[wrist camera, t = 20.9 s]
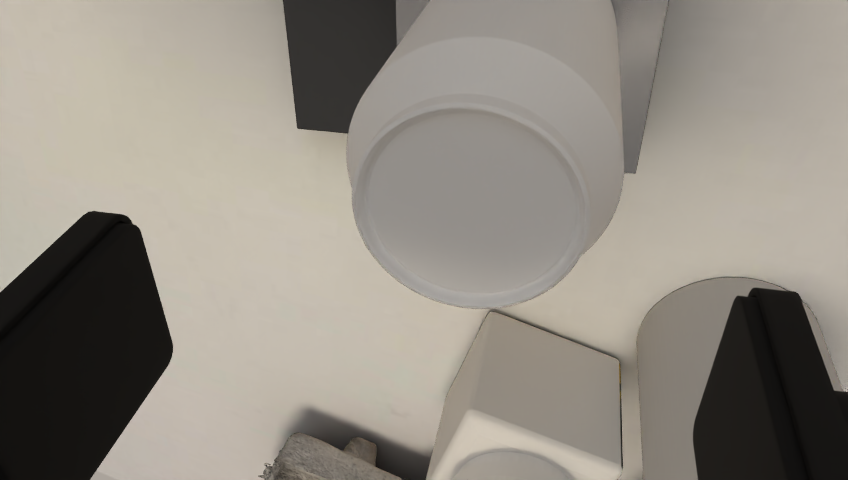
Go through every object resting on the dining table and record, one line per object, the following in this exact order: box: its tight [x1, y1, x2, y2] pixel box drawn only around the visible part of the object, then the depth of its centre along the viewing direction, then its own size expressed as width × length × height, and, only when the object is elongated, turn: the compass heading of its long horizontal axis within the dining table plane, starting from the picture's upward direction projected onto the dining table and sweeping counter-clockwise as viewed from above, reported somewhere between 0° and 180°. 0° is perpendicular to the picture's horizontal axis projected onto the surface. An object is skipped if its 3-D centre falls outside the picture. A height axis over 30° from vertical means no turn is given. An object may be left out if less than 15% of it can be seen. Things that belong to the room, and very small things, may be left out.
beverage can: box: [346, 0, 624, 309], centre depth 19 cm, size 6×6×12 cm
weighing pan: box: [396, 0, 669, 173], centre depth 24 cm, size 10×9×1 cm
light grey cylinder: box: [637, 278, 843, 480], centre depth 29 cm, size 8×8×12 cm
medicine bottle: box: [426, 312, 623, 480], centre depth 33 cm, size 7×7×12 cm
